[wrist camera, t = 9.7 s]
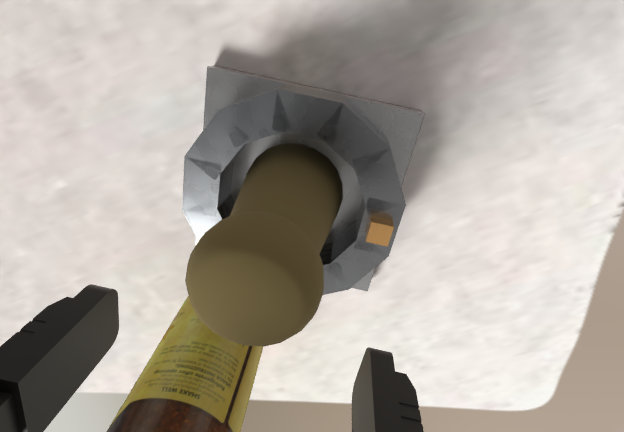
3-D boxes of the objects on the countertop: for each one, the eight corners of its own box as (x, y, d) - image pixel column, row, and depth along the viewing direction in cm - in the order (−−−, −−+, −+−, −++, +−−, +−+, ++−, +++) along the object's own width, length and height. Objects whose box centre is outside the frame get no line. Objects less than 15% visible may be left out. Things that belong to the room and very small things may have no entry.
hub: (201, 245, 26) (173, 280, 22) (213, 65, 21) (181, 70, 17) (367, 282, 26) (369, 324, 22) (421, 110, 21) (436, 126, 17)
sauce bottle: (178, 282, 28) (-148, 716, 10) (251, 257, 26) (20, 726, 8) (220, 345, 30) (18, 792, 12) (289, 327, 28) (174, 812, 10)
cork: (360, 211, 23) (363, 342, 13) (278, 249, 24) (224, 390, 14) (311, 123, 21) (270, 196, 11) (226, 172, 22) (123, 272, 13)
